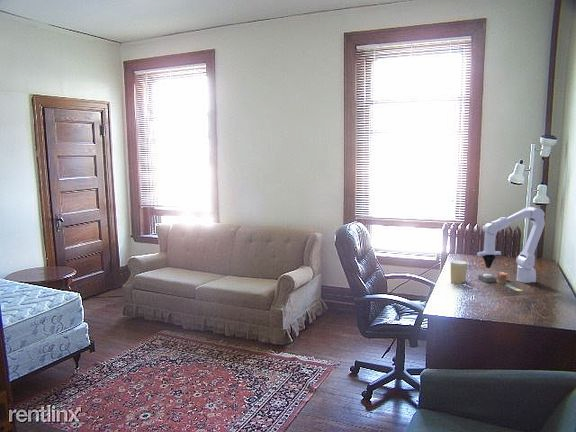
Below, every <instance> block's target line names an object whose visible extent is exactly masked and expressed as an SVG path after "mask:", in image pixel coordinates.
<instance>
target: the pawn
mask: <svg viewBox="0 0 576 432" xmlns="http://www.w3.org/2000/svg"><path fill="white" fill-rule="evenodd" d="M506 278H507V275H505V274H499V280H498V284H499V285H501V284H502V285H501V286H504V285H507V280H506Z"/></svg>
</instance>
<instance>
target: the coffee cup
mask: <svg viewBox="0 0 576 432" xmlns="http://www.w3.org/2000/svg"><path fill="white" fill-rule="evenodd" d="M449 264H450V283H451V284H455V285H465V284H466V278H467V272H468V262H467V261H465V260H464V261H463V260H457V259H456V260H451V261H450V263H449Z"/></svg>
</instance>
